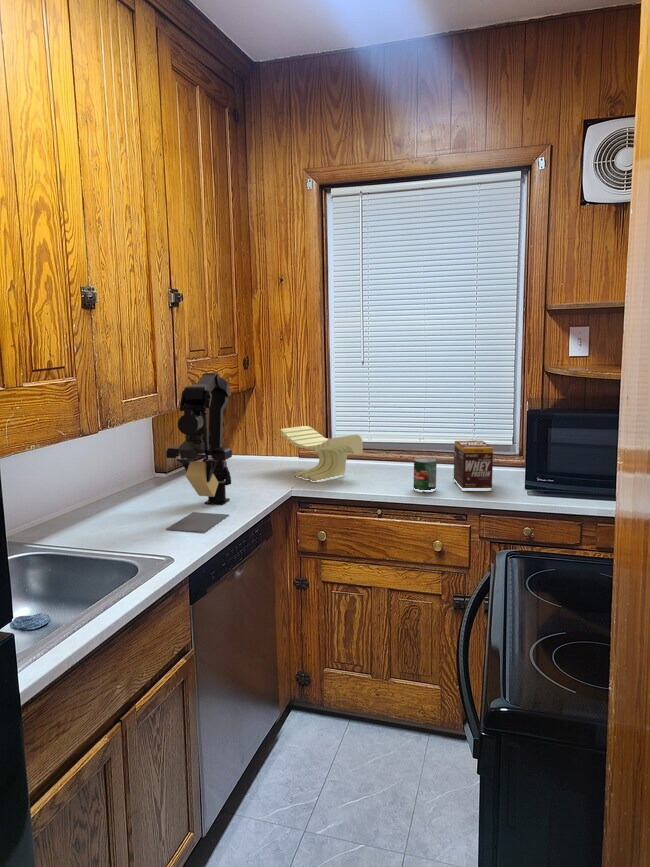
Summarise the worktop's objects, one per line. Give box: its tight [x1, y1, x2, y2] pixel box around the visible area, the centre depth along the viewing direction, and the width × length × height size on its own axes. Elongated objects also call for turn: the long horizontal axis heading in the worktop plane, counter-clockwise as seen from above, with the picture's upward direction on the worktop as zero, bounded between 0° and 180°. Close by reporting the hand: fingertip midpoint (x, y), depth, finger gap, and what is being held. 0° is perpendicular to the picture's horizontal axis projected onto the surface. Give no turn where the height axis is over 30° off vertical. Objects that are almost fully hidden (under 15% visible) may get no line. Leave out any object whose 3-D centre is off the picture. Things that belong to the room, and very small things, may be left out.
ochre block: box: [184, 460, 219, 497], centre depth 186 cm, size 5×5×12 cm
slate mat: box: [165, 511, 230, 534], centre depth 185 cm, size 17×12×1 cm
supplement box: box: [453, 440, 494, 489], centre depth 224 cm, size 10×15×16 cm
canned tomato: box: [413, 456, 437, 490], centre depth 220 cm, size 8×8×11 cm
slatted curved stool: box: [280, 425, 364, 481], centre depth 241 cm, size 30×16×18 cm, turn 40°
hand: (200, 481), depth 185 cm, fingers closed on ochre block, 5 cm apart
